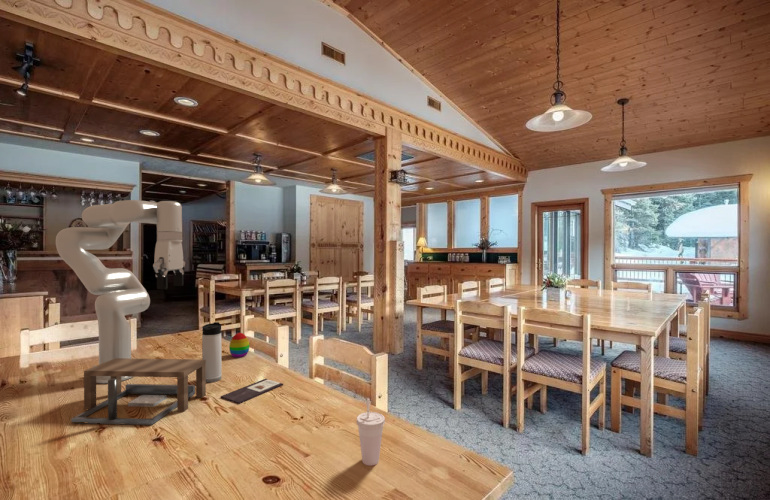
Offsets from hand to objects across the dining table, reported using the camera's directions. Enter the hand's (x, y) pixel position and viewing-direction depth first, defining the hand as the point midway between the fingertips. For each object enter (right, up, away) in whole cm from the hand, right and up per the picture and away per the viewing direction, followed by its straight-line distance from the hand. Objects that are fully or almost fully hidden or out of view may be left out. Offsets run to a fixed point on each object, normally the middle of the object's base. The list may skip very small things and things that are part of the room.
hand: (170, 287), depth 128 cm
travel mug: (+11, -34, +6) cm, 36 cm away
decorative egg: (+10, -34, +35) cm, 50 cm away
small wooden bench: (+1, -34, -13) cm, 37 cm away
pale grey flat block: (+1, -35, -13) cm, 37 cm away
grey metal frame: (0, -34, -18) cm, 38 cm away
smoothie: (+70, -35, -44) cm, 90 cm away
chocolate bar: (+30, -35, -5) cm, 46 cm away
